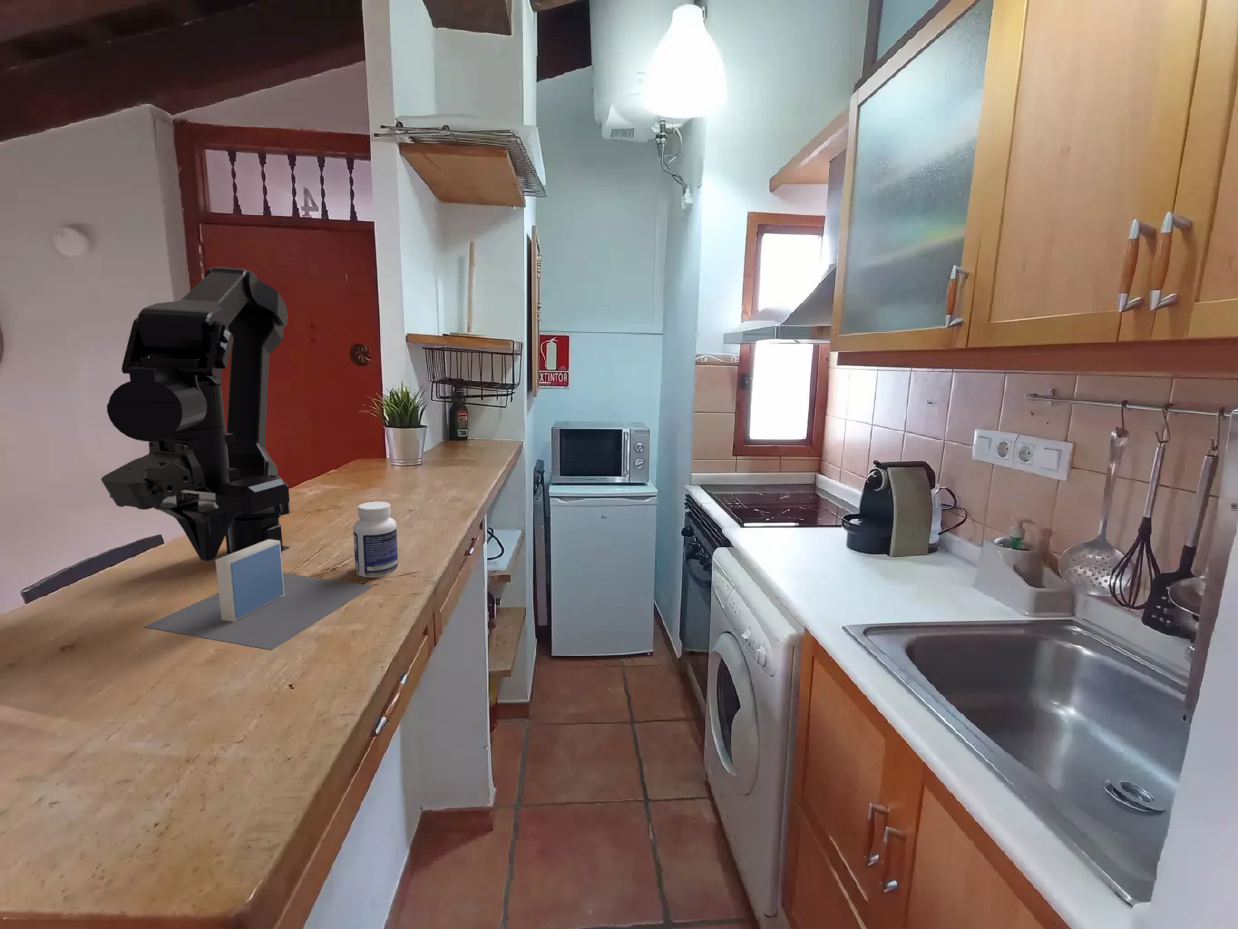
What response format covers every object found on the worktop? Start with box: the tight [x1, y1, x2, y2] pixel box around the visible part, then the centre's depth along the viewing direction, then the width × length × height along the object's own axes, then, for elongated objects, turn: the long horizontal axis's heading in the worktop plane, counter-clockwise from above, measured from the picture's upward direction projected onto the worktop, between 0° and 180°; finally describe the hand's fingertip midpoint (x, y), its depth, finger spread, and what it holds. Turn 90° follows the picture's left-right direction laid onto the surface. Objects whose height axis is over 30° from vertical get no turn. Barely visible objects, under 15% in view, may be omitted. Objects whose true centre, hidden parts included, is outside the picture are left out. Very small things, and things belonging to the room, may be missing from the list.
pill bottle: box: [352, 501, 399, 578], centre depth 75 cm, size 5×5×10 cm
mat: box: [143, 572, 374, 651], centre depth 65 cm, size 16×16×1 cm
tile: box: [215, 539, 285, 622], centre depth 63 cm, size 2×7×7 cm, turn 168°
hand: (208, 560), depth 64 cm, fingers closed
